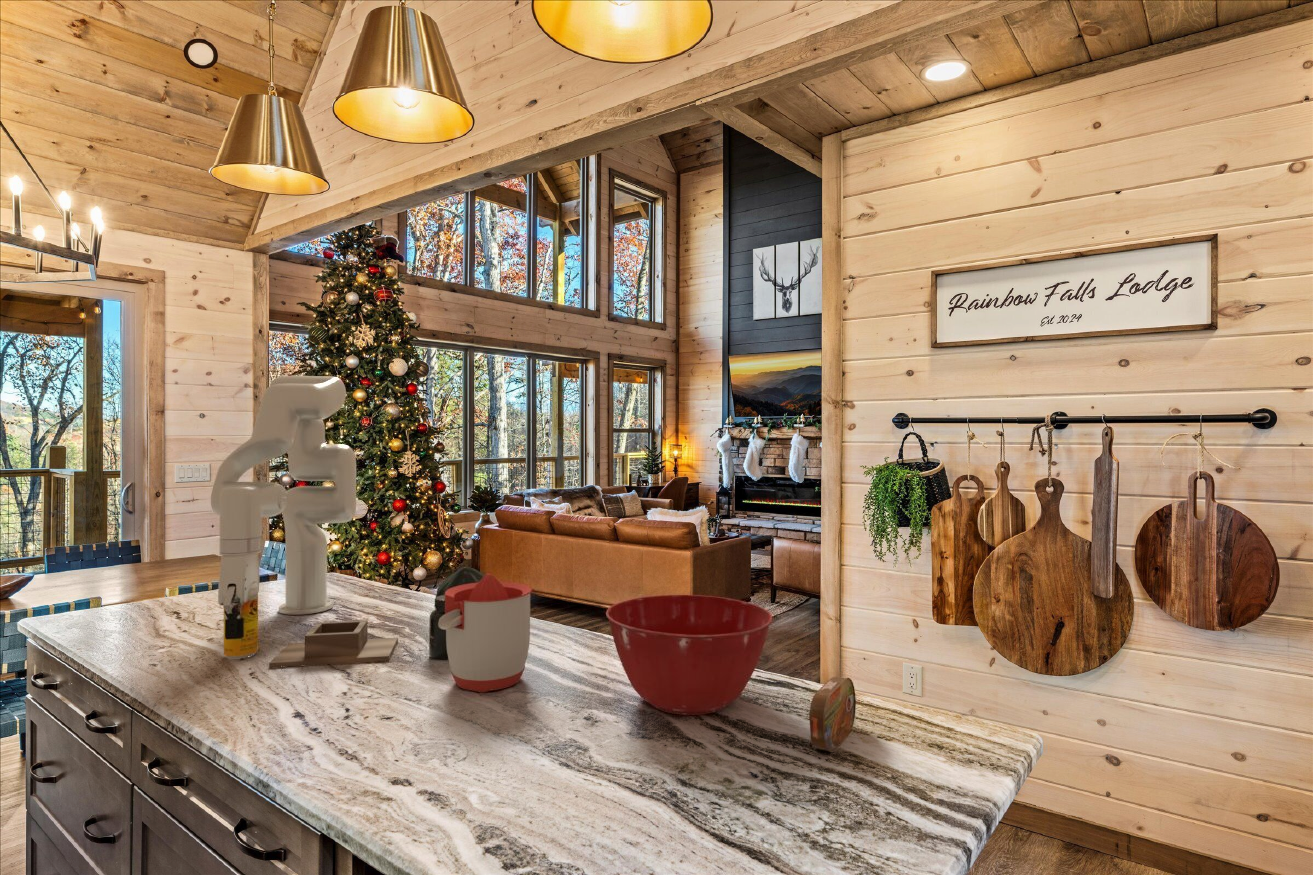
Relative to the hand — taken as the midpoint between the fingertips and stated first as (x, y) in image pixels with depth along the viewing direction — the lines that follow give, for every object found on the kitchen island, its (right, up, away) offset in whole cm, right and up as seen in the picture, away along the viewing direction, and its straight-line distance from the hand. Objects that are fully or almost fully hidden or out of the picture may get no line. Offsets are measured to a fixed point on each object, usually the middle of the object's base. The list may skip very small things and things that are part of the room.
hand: (241, 632), depth 146 cm
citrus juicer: (+53, -5, -15) cm, 56 cm away
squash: (+40, -5, +24) cm, 47 cm away
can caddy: (+19, -5, +1) cm, 20 cm away
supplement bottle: (+42, -5, +1) cm, 42 cm away
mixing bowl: (+91, -6, -23) cm, 93 cm away
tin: (+112, -6, -38) cm, 118 cm away
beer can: (0, -5, 0) cm, 5 cm away
